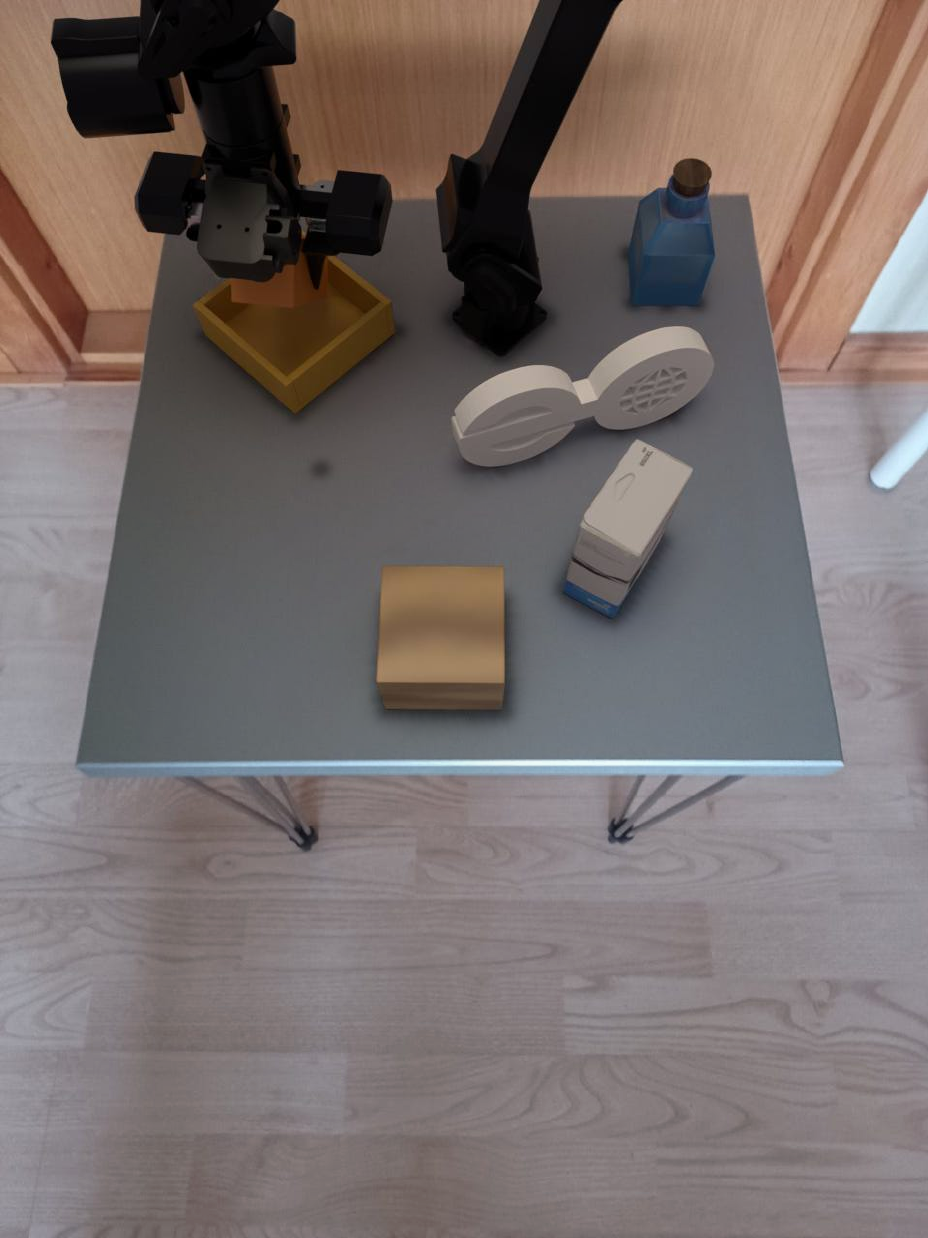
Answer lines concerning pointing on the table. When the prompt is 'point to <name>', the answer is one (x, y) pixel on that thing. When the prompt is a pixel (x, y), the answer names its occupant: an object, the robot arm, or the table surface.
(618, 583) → the ink box
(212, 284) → the table surface
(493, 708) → the riser block
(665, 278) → the perfume bottle
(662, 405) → the white double disc
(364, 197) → the robot arm
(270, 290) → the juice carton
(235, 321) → the tray
